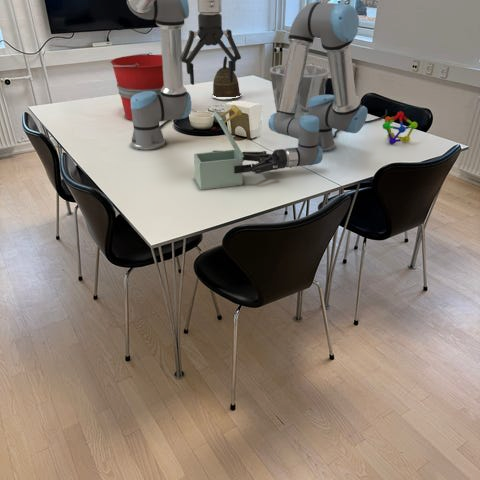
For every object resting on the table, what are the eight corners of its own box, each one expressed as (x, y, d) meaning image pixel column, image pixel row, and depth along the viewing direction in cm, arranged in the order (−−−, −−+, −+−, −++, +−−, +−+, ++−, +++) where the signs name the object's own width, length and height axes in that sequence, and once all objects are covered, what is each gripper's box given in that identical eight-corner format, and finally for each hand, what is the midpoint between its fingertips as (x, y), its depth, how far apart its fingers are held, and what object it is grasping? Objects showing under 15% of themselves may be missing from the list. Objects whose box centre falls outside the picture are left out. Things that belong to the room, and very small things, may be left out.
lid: (219, 120, 154) (240, 107, 154) (212, 112, 162) (231, 99, 162) (241, 157, 164) (260, 145, 164) (234, 148, 172) (252, 136, 172)
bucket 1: (124, 106, 262) (117, 51, 246) (183, 106, 262) (180, 52, 246) (108, 124, 233) (99, 63, 217) (174, 124, 232) (170, 64, 216)
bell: (227, 105, 294) (202, 96, 282) (238, 66, 289) (213, 55, 277) (243, 108, 280) (217, 98, 268) (255, 66, 275) (229, 55, 263)
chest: (200, 189, 166) (199, 163, 160) (195, 179, 174) (193, 153, 168) (242, 184, 170) (242, 158, 165) (235, 174, 178) (235, 149, 173)
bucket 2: (296, 138, 215) (301, 78, 201) (255, 124, 234) (256, 68, 219) (335, 125, 232) (342, 70, 217) (294, 113, 251) (297, 61, 236)
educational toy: (377, 146, 209) (379, 114, 202) (384, 138, 219) (386, 107, 211) (411, 149, 202) (415, 116, 195) (417, 141, 212) (420, 109, 204)
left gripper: (172, 15, 134) (177, 87, 146) (250, 13, 141) (249, 82, 152) (168, 13, 140) (173, 82, 152) (243, 11, 147) (243, 78, 158)
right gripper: (295, 178, 168) (239, 185, 163) (273, 157, 187) (223, 163, 181) (296, 159, 164) (239, 166, 159) (274, 140, 183) (222, 145, 177)
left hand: (211, 82), depth 152 cm, fingers open, 13 cm apart
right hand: (230, 164), depth 170 cm, fingers closed on chest, 10 cm apart
